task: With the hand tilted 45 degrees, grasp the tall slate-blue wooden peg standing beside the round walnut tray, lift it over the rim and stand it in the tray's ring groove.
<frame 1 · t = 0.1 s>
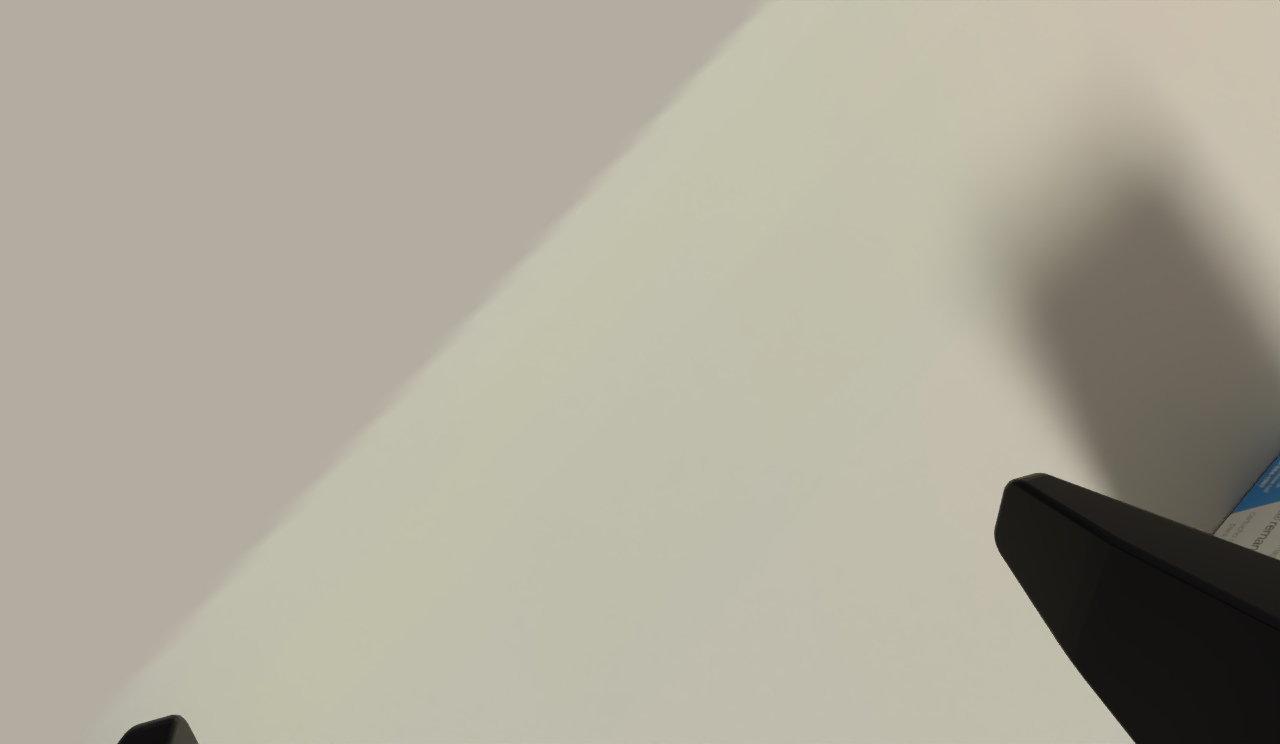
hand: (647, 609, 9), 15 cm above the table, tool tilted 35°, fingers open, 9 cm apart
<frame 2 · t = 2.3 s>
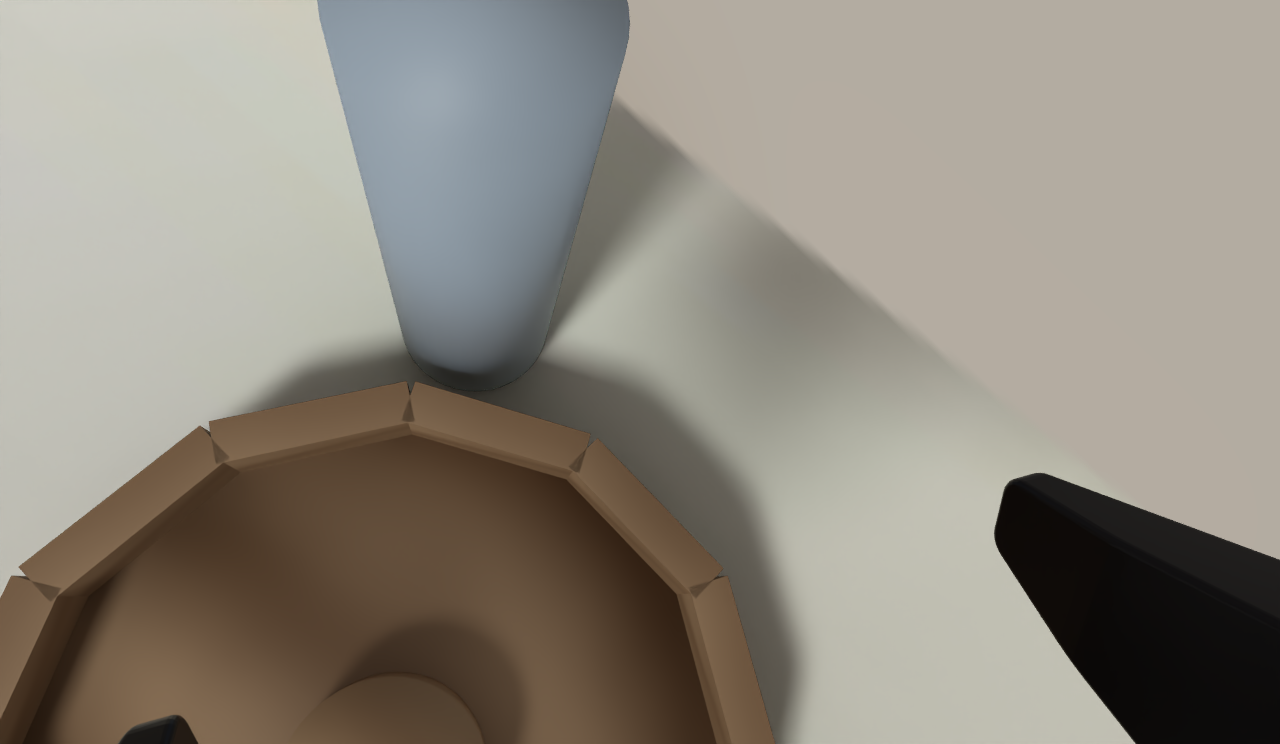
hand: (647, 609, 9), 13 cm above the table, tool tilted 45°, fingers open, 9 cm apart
peg: (475, 321, 23), on the table
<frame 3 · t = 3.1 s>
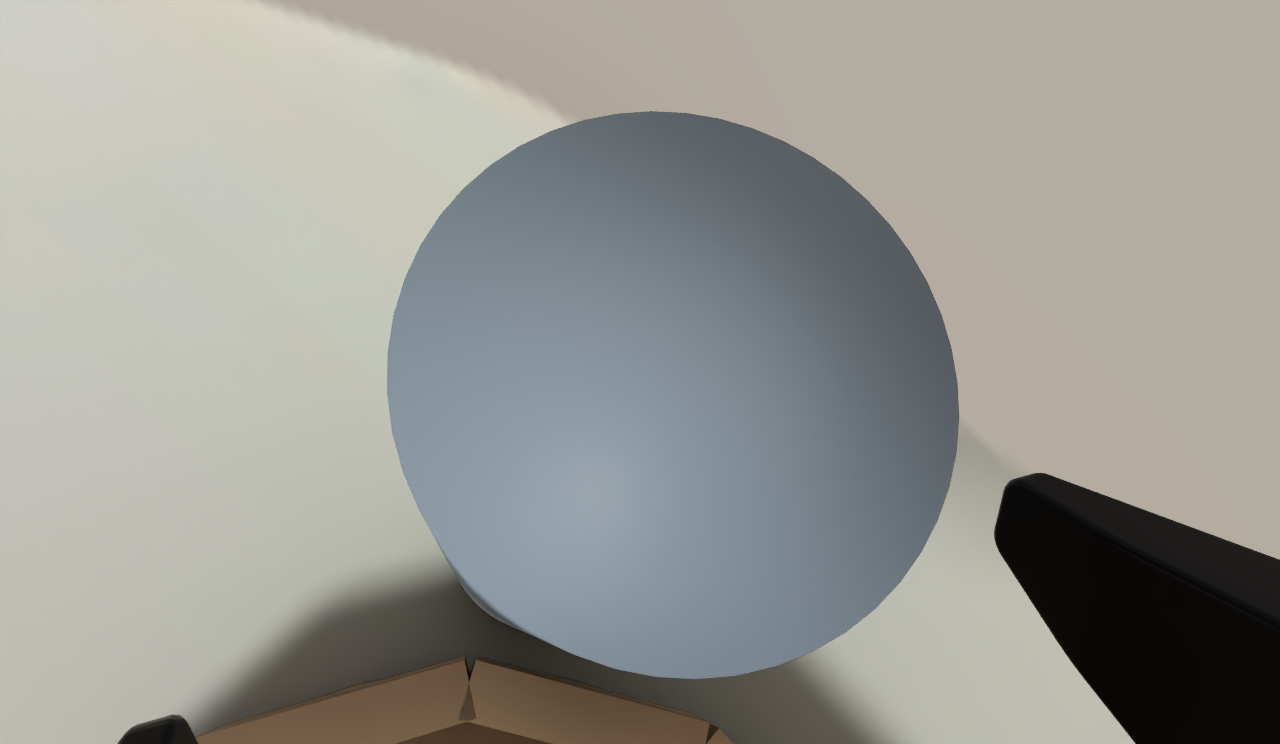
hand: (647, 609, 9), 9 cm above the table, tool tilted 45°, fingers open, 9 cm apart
peg: (543, 533, 18), on the table
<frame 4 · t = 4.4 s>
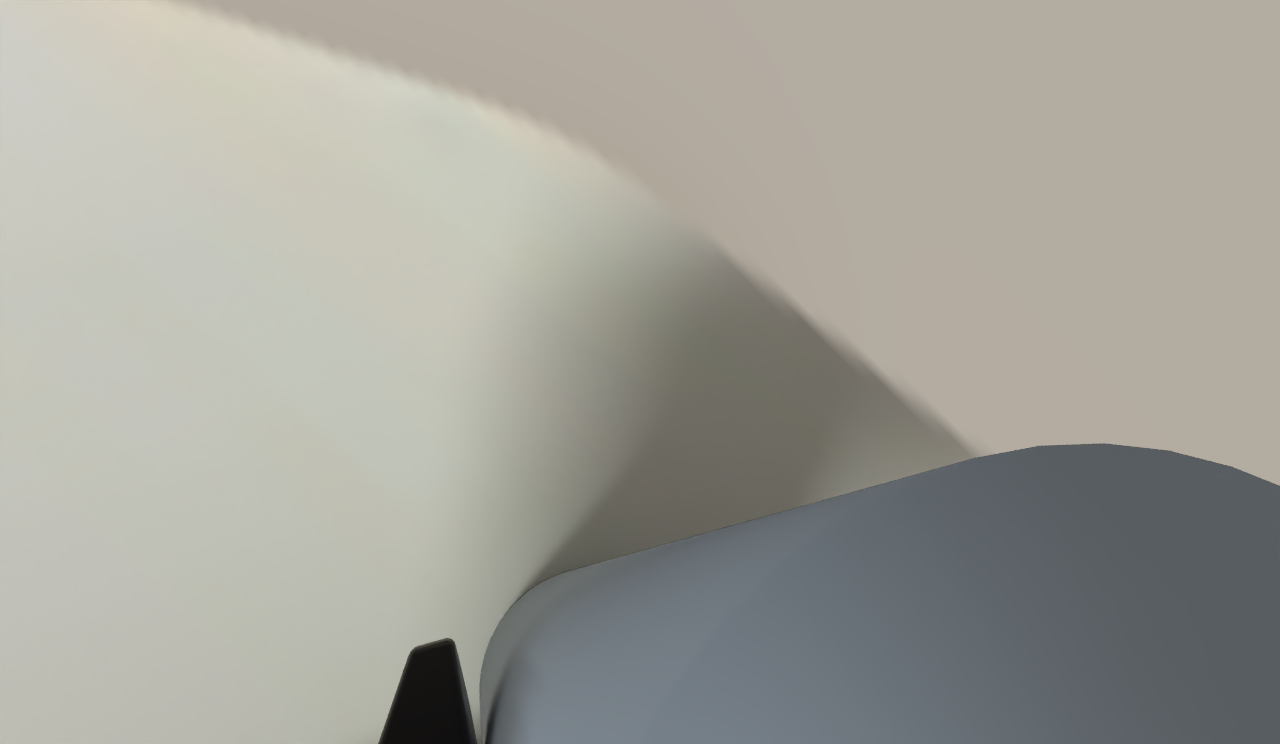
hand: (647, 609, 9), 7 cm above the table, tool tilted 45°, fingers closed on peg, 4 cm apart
peg: (593, 683, 15), on the table, touching gripper
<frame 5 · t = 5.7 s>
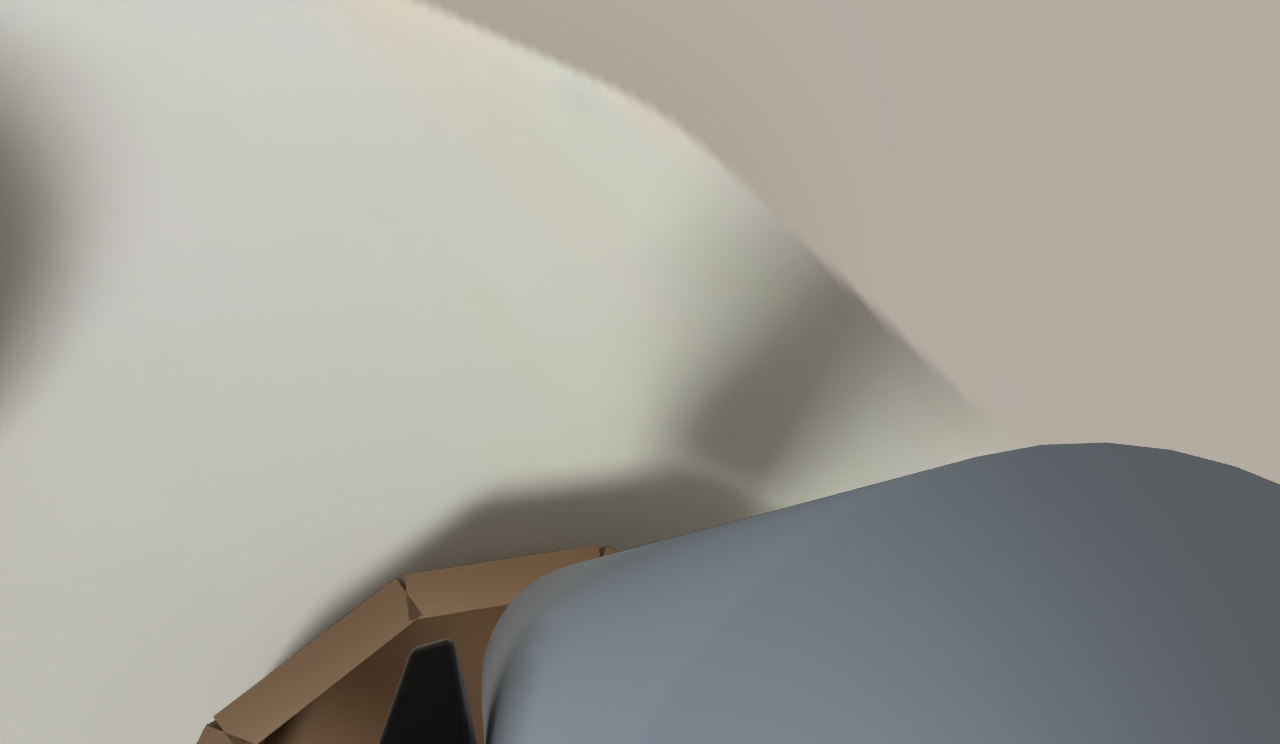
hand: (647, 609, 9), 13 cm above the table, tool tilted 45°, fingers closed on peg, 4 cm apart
peg: (595, 676, 15), point 7 cm above the table, touching gripper
when the fingers open (8 cm above the table, at t = 7.3 s): peg stays where it is, resting on tray.
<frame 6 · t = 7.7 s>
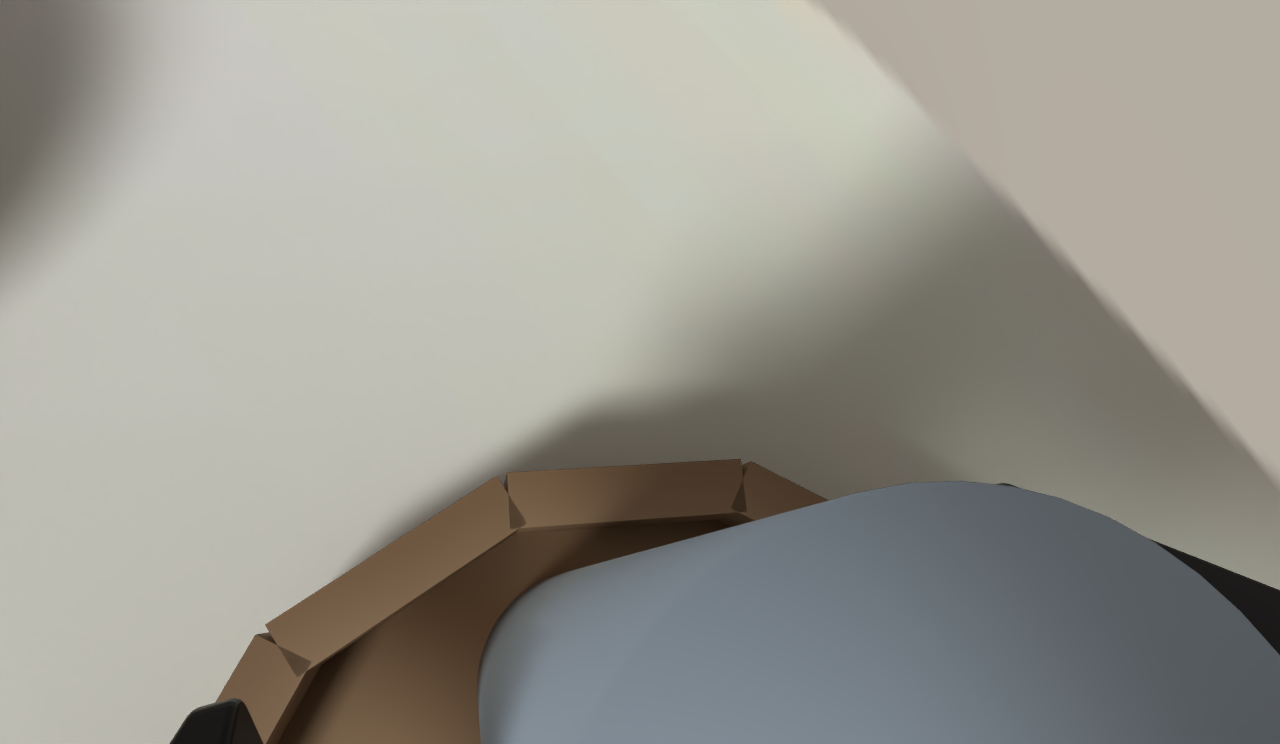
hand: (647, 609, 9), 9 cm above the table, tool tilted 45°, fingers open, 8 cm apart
peg: (584, 679, 16), point 1 cm above the table, touching tray
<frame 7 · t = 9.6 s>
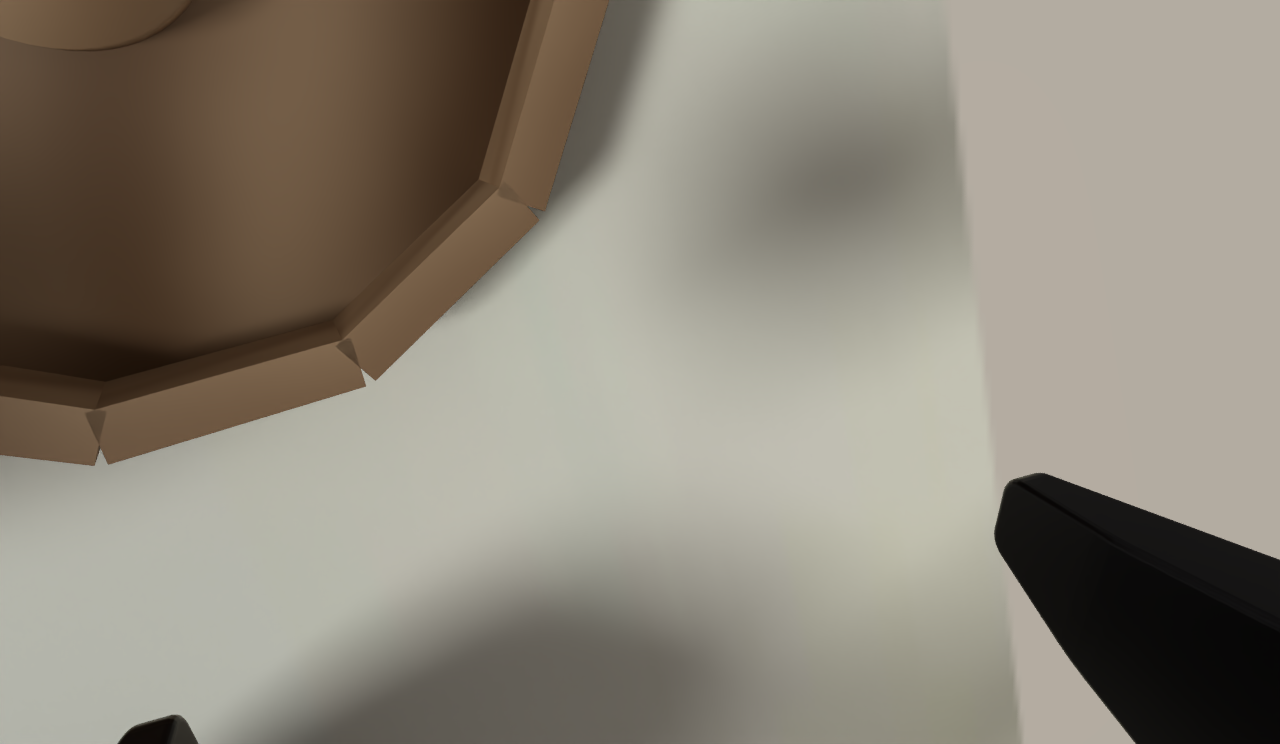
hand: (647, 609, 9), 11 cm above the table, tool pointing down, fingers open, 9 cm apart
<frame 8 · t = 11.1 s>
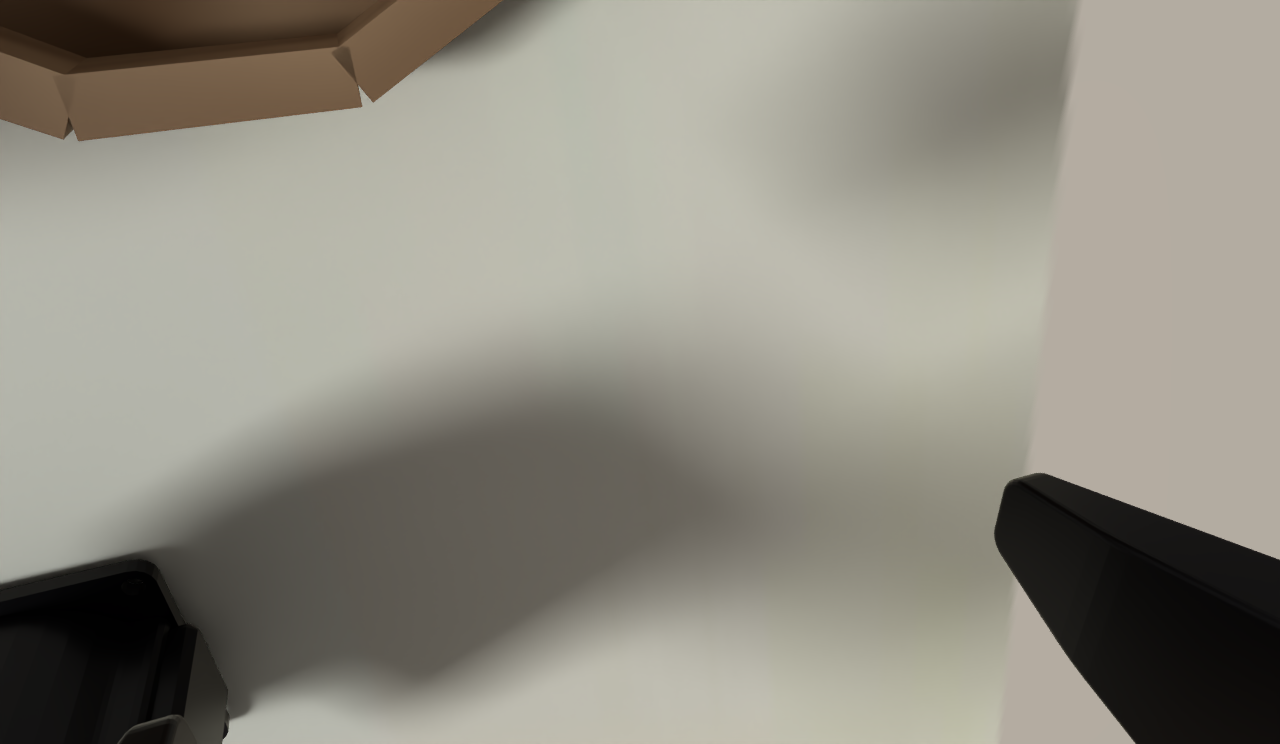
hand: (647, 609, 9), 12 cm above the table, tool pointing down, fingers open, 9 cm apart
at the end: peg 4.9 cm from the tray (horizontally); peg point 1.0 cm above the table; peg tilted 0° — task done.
